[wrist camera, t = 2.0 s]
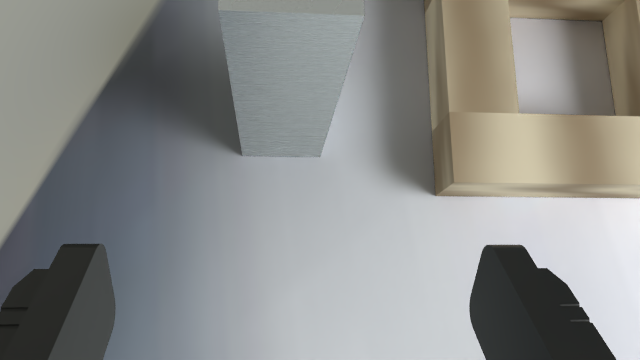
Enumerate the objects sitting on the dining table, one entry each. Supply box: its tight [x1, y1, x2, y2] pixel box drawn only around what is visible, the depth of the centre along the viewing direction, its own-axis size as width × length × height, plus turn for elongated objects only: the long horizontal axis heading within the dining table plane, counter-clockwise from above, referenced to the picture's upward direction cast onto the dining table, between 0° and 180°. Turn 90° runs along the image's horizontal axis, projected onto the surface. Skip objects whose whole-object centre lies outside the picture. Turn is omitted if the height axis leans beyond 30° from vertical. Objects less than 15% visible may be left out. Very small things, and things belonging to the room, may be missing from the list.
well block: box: [424, 0, 640, 198], centre depth 30 cm, size 14×14×3 cm
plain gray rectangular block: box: [218, 0, 365, 157], centre depth 23 cm, size 4×4×14 cm
